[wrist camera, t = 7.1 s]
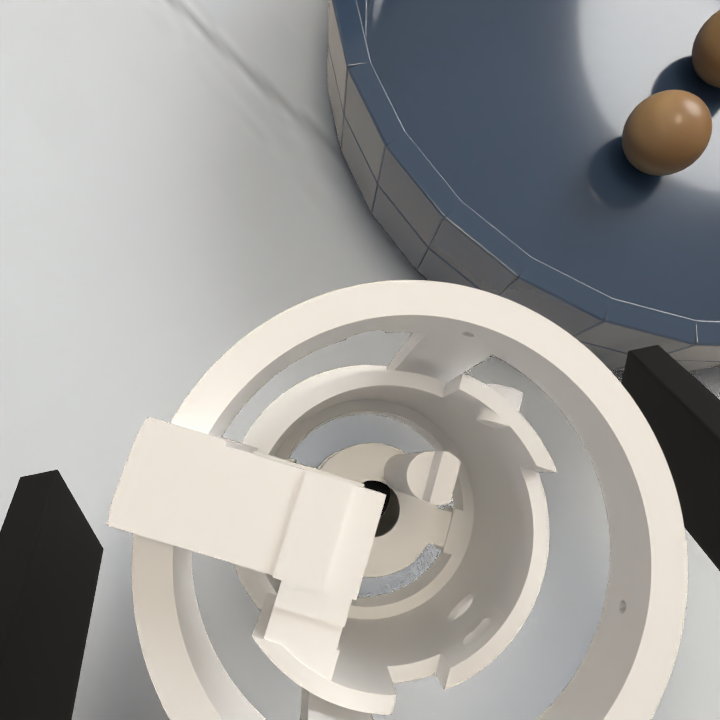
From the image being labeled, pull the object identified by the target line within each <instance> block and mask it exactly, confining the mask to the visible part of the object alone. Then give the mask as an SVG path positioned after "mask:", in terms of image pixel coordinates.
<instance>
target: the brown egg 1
mask: <svg viewBox="0 0 720 720" xmlns="http://www.w3.org/2000/svg"><path fill="white" fill-rule="evenodd" d="M711 134H712V118H711V114H710V111H709V109H708V107H707V106H706V104H705V103H704V102H703V101H702V100H701V99H700V98H699V97H698V96H696V95H694V94H692V93H690V92H687V91H683V90H666V91H662V92H658V93H656V94H653V95H651V96H649V97H648V98H646V99H645V100H643V101H642V102H641V103H639V104H638V105H637V106H636V107H635V108H634V110H633V111H632V112H631V114H630V115H629V117H628V119H627V120H626V123H625V125H624V128H623V132H622V147H623V151H624V154H625V156H626V158H627V160H628V161H629V162H630V164H631V165H632V166H633V167H635V168H636V169H637V170H639V171H641V172H643V173H646V174H649V175H655V176H665V175H670V174H674V173H677V172H680V171H682V170H684V169H686V168H687V167H689V166H690V165H692V164H693V163H694V162H695V161H696V160H697V159H698V158H699V157H700V156H701V155H702V154H703V152H704V151H705V149H706V147H707V145H708V143H709V141H710V138H711Z"/></svg>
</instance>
